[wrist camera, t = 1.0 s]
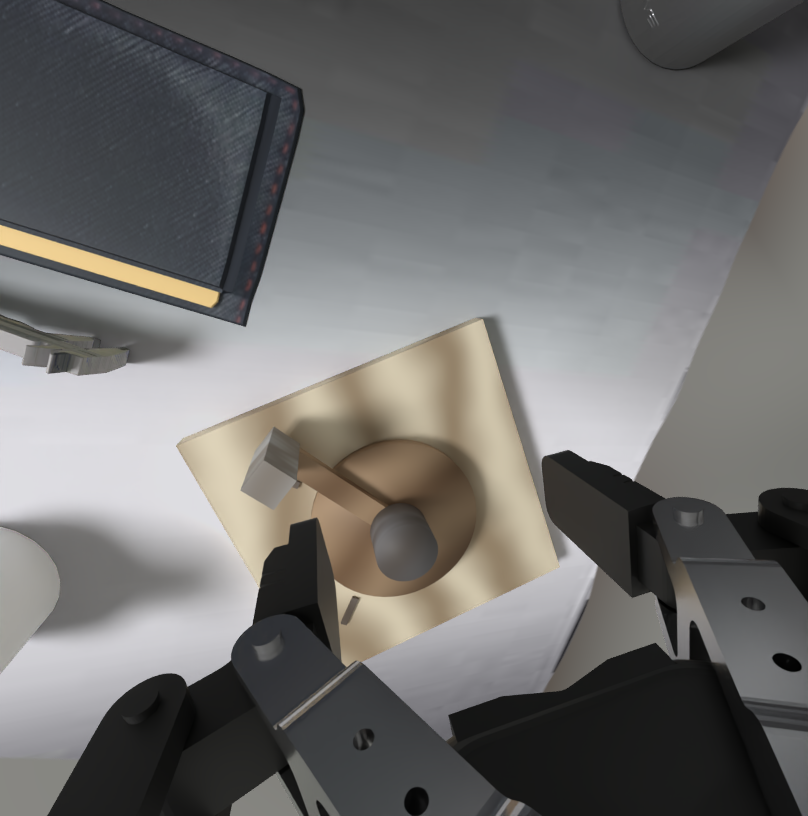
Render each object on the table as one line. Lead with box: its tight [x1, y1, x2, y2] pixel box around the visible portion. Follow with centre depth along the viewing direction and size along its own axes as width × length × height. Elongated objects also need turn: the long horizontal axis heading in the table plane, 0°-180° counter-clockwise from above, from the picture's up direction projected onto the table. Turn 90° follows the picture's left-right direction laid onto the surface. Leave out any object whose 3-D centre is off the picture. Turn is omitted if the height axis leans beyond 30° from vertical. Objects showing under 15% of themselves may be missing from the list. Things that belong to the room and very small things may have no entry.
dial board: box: [176, 318, 560, 667], centre depth 33 cm, size 22×22×2 cm
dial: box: [240, 427, 476, 597], centre depth 28 cm, size 17×12×7 cm
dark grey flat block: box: [0, 0, 304, 326], centre depth 25 cm, size 20×2×15 cm
